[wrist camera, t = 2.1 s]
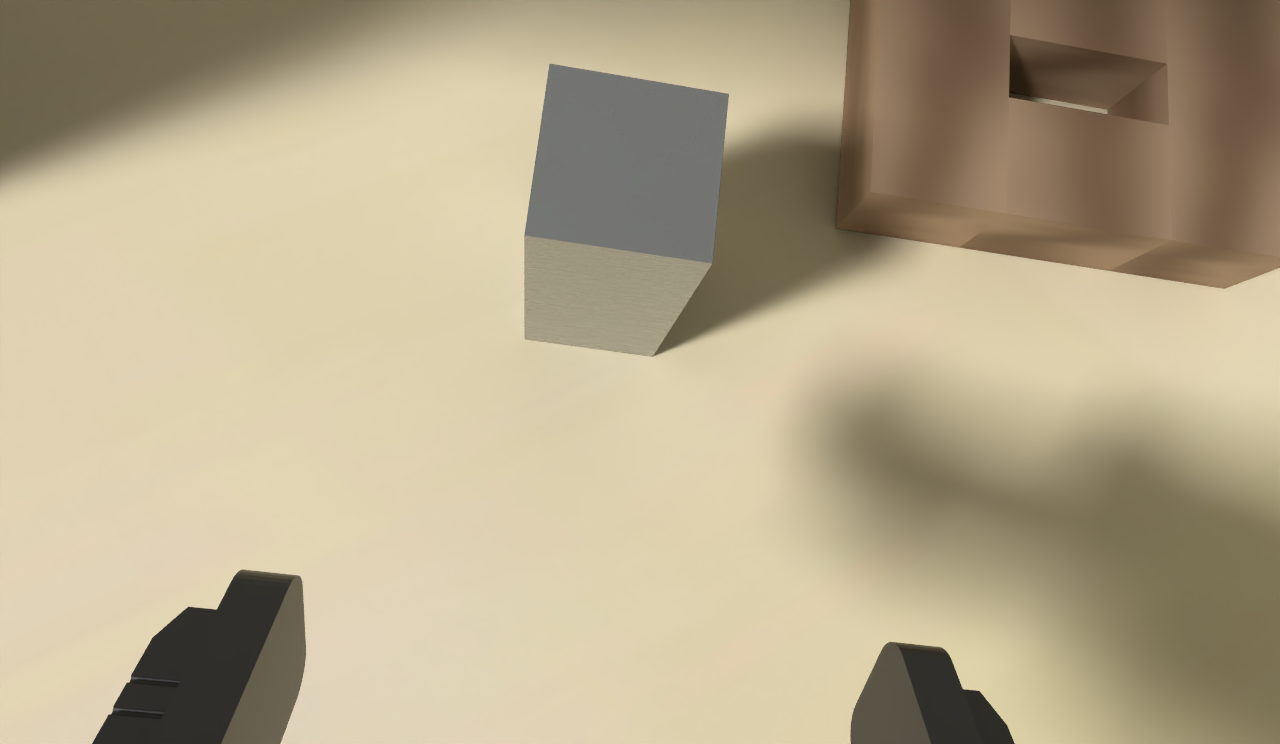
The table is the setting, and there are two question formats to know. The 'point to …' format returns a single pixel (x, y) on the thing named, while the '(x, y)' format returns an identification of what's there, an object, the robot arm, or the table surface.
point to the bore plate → (1069, 131)
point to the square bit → (620, 208)
